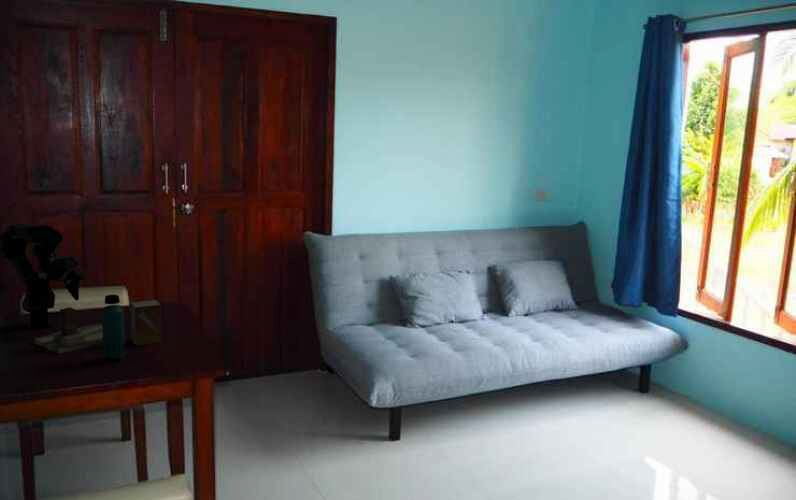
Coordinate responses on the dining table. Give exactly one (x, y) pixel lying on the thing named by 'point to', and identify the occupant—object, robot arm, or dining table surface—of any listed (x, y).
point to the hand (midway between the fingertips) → (65, 301)
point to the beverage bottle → (113, 328)
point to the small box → (146, 322)
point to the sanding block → (68, 329)
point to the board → (91, 337)
